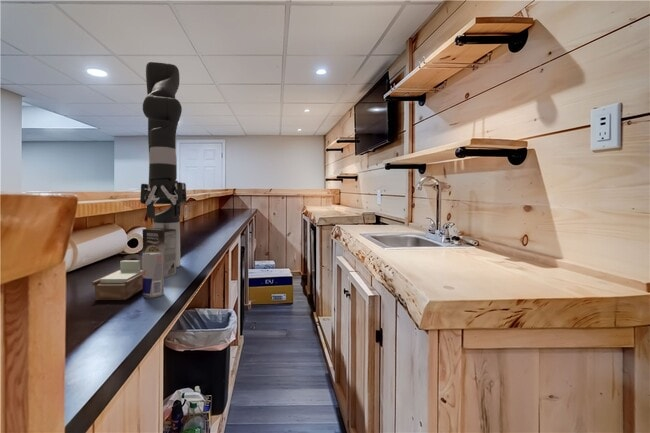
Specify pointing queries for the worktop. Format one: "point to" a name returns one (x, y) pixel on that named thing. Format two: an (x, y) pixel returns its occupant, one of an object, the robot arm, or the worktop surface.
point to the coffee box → (162, 246)
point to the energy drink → (152, 274)
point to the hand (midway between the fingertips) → (163, 217)
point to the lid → (124, 272)
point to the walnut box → (117, 288)
